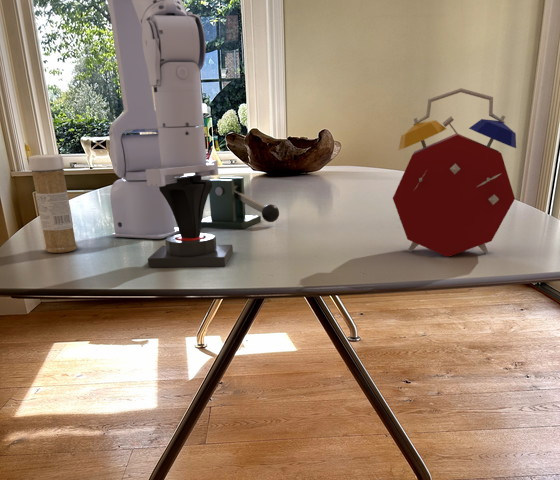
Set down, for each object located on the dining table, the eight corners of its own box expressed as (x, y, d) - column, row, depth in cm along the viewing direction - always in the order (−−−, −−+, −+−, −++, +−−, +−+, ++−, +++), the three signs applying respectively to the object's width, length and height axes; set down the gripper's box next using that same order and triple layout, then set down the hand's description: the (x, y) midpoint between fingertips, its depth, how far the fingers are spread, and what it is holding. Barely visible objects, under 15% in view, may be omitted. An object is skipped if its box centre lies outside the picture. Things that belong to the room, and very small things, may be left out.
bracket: (261, 221, 108) (259, 176, 105) (242, 229, 101) (239, 181, 98) (216, 219, 111) (213, 176, 108) (195, 227, 104) (191, 180, 101)
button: (175, 253, 78) (174, 240, 78) (181, 247, 82) (179, 234, 81) (202, 252, 78) (201, 239, 78) (207, 247, 82) (206, 234, 81)
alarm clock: (503, 248, 81) (522, 86, 73) (509, 263, 74) (532, 84, 66) (393, 246, 85) (400, 91, 77) (388, 259, 77) (396, 89, 69)
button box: (148, 267, 77) (145, 244, 76) (162, 254, 85) (160, 232, 83) (225, 266, 77) (223, 243, 75) (232, 253, 84) (231, 231, 83)
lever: (278, 223, 104) (284, 208, 103) (271, 226, 102) (277, 210, 100) (221, 192, 106) (226, 176, 105) (213, 194, 104) (218, 178, 102)
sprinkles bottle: (75, 246, 92) (59, 153, 86) (79, 251, 88) (64, 154, 83) (43, 249, 90) (26, 155, 85) (47, 255, 86) (29, 156, 81)
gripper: (178, 128, 66) (189, 249, 72) (235, 124, 79) (241, 228, 84) (125, 129, 69) (140, 247, 74) (188, 126, 81) (197, 227, 87)
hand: (190, 237), depth 79 cm, fingers closed, pressing on button
